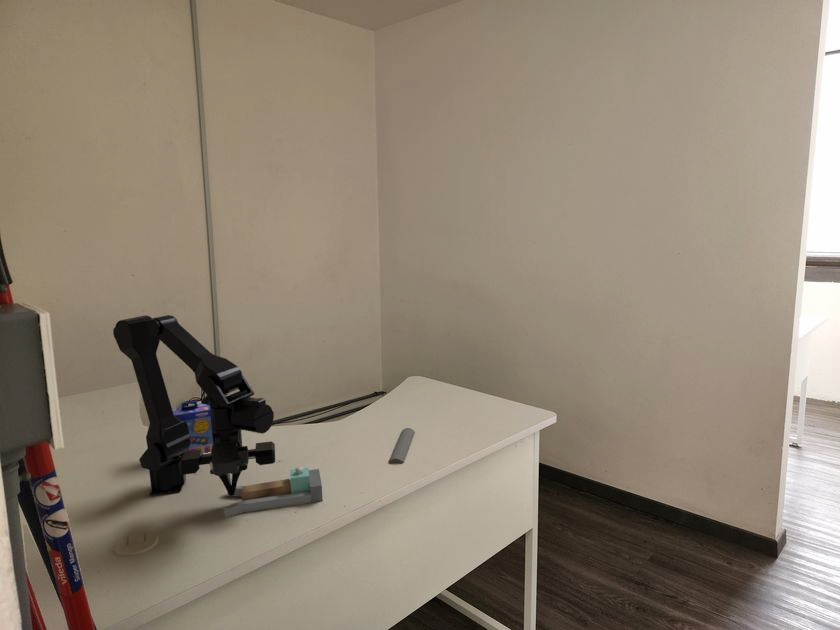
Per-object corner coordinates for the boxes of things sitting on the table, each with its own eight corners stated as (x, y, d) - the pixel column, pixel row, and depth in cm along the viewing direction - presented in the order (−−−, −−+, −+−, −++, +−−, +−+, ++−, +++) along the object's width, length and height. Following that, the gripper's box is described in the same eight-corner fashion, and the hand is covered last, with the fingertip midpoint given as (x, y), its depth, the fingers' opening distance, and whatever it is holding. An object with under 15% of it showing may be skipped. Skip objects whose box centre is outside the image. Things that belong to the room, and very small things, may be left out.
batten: (243, 508, 114) (241, 493, 113) (243, 501, 117) (241, 486, 116) (291, 499, 117) (290, 484, 116) (290, 493, 120) (289, 478, 119)
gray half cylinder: (415, 434, 151) (415, 428, 151) (404, 465, 132) (404, 458, 132) (400, 433, 152) (400, 427, 152) (387, 464, 133) (387, 458, 133)
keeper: (291, 499, 116) (289, 474, 115) (291, 490, 120) (289, 465, 119) (310, 496, 117) (309, 471, 116) (309, 487, 121) (308, 463, 120)
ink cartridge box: (173, 461, 136) (167, 406, 133) (172, 453, 141) (166, 400, 138) (215, 453, 140) (210, 399, 138) (212, 445, 145) (207, 393, 143)
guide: (223, 518, 110) (222, 502, 109) (228, 493, 119) (226, 478, 119) (323, 503, 114) (322, 488, 114) (319, 480, 124) (318, 466, 124)
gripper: (170, 446, 102) (178, 522, 105) (272, 435, 106) (277, 507, 109) (179, 424, 112) (186, 494, 115) (272, 415, 117) (277, 482, 120)
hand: (231, 495), depth 115 cm, fingers closed
